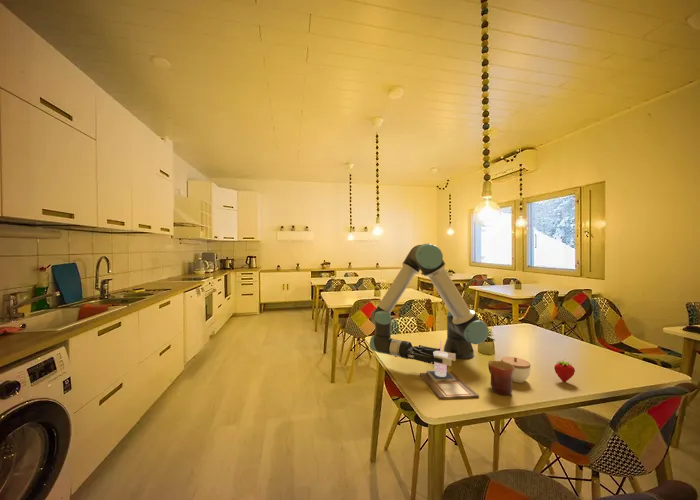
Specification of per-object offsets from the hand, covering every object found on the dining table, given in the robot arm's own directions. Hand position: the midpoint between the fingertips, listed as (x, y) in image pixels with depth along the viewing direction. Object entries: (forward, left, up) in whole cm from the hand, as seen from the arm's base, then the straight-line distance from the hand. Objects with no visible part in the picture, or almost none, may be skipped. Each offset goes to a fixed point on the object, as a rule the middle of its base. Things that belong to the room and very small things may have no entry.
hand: (453, 359), depth 114 cm
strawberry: (-47, +3, -10) cm, 48 cm away
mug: (-15, +7, -10) cm, 19 cm away
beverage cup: (+4, -3, -8) cm, 9 cm away
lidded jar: (-28, -1, -10) cm, 30 cm away
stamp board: (+4, +2, -9) cm, 10 cm away
